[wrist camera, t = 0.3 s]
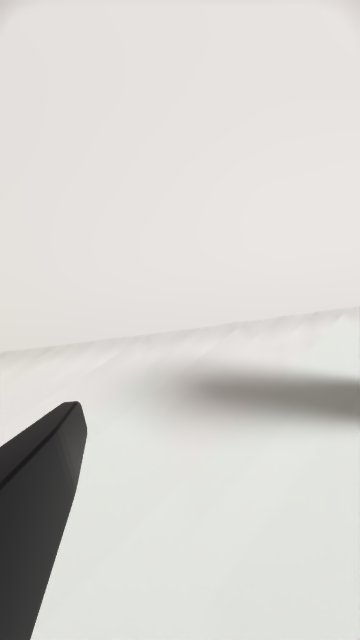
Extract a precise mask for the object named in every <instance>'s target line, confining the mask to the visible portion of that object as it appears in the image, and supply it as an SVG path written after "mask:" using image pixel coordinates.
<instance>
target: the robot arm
mask: <svg viewBox="0 0 360 640" xmlns="http://www.w3.org/2000/svg"><path fill="white" fill-rule="evenodd" d="M86 438H87V425H86V422H85V418H84V414H83V410H82V406H81V404H80V403H79V402H78V401H74V402H64V403H62V404H60V405H59V406H58V407H56V408H55V409H53V410H52V411H51V412H49V413H48V414H46V415H45V416H43V417H42V418H41V419H39V420H38V421H36V422H35V423H34V424H32V425H31V426H29V427H28V428H26V429H25V430H24V431H22V432H21V433H19V434H18V435H17V436H15V437H14V438H12V439H11V440H9V441H8V442H7V443H5V444H4V445H2V446H1V447H0V640H30V639H31V635H32V632H33V629H34V626H35V623H36V619H37V616H38V613H39V610H40V606H41V603H42V600H43V597H44V594H45V590H46V587H47V584H48V581H49V577H50V574H51V571H52V568H53V564H54V561H55V558H56V555H57V552H58V548H59V545H60V542H61V539H62V535H63V532H64V529H65V526H66V523H67V519H68V516H69V513H70V510H71V506H72V503H73V500H74V496H75V493H76V489H77V484H78V479H79V474H80V469H81V464H82V459H83V453H84V448H85V443H86Z"/></svg>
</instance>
